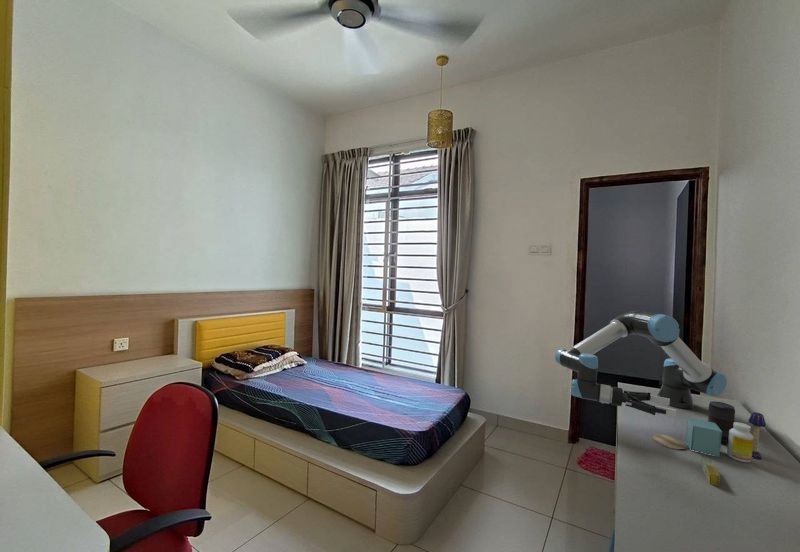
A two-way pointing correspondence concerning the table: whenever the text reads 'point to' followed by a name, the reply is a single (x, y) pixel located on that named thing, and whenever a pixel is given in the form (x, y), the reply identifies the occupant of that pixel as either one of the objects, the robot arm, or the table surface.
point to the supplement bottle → (740, 442)
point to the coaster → (670, 441)
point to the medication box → (710, 471)
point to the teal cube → (703, 436)
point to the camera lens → (722, 418)
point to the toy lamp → (756, 432)
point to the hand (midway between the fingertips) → (672, 407)
